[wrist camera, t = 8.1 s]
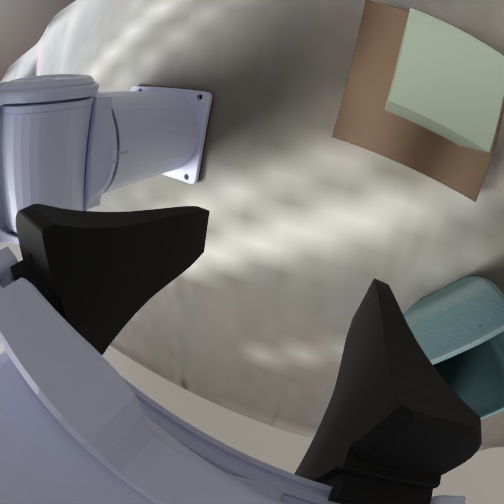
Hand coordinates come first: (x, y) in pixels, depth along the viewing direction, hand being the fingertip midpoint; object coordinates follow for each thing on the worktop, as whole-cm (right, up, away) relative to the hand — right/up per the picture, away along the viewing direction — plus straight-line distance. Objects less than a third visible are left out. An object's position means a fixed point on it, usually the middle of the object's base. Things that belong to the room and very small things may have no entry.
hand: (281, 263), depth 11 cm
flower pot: (+15, -4, +7) cm, 18 cm away
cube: (+9, +10, 0) cm, 13 cm away
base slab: (+10, +11, +2) cm, 15 cm away
